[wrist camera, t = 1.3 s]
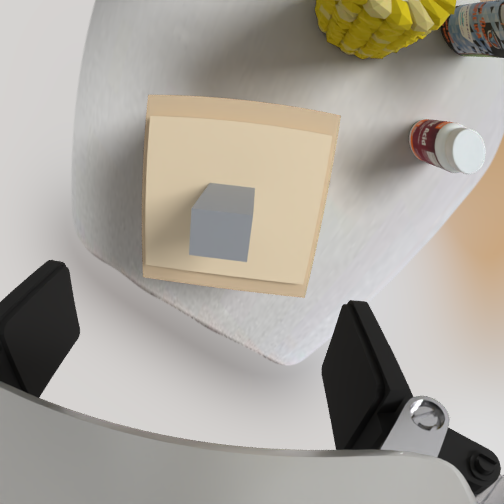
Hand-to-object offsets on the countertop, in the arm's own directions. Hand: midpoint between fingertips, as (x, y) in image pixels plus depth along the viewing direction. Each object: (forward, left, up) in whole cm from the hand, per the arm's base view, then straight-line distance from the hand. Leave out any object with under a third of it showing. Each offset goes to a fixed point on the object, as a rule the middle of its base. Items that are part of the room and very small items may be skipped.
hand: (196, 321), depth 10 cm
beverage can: (-22, +22, -23) cm, 39 cm away
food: (-19, +9, -23) cm, 31 cm away
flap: (0, 0, -13) cm, 13 cm away
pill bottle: (-8, +19, -23) cm, 31 cm away
